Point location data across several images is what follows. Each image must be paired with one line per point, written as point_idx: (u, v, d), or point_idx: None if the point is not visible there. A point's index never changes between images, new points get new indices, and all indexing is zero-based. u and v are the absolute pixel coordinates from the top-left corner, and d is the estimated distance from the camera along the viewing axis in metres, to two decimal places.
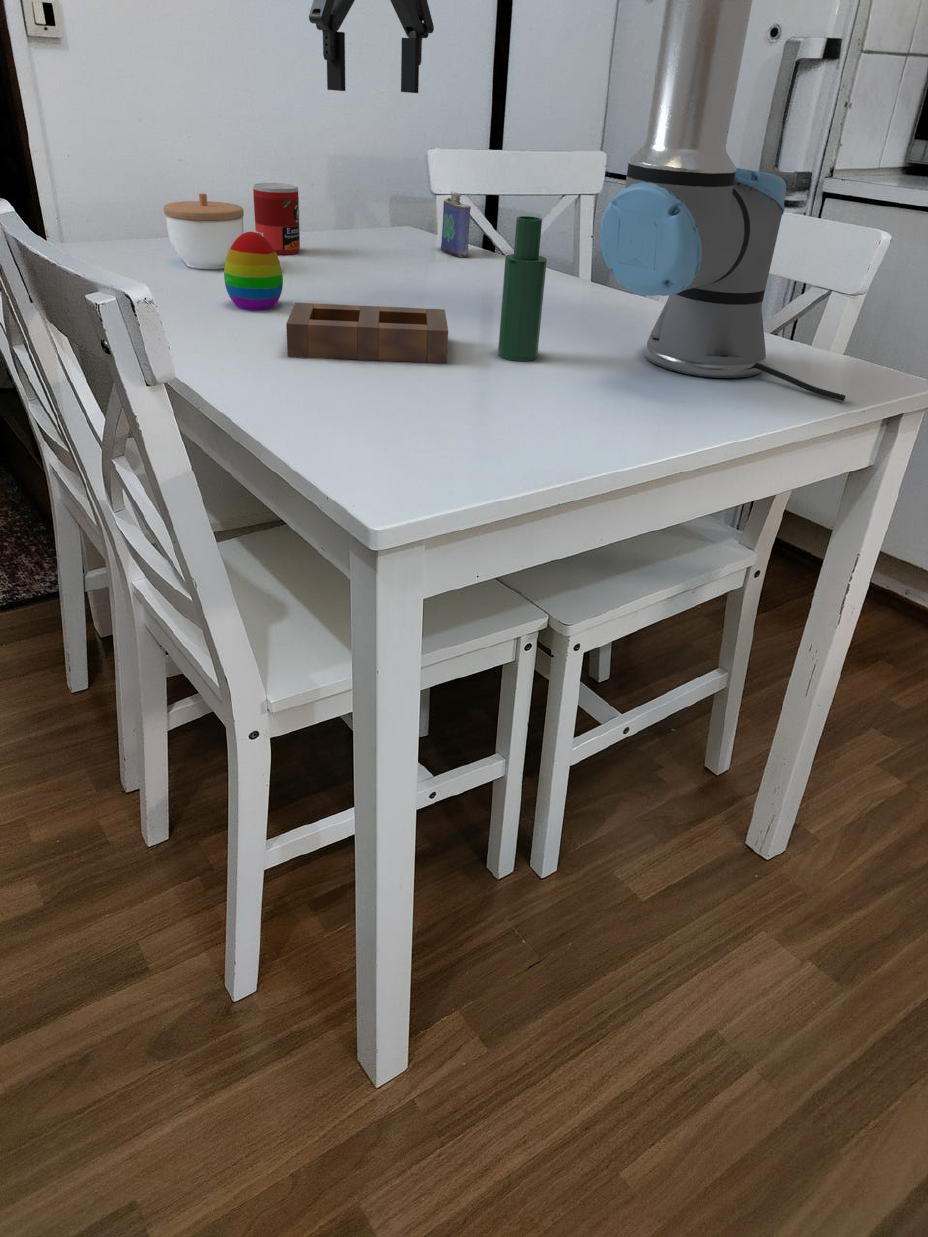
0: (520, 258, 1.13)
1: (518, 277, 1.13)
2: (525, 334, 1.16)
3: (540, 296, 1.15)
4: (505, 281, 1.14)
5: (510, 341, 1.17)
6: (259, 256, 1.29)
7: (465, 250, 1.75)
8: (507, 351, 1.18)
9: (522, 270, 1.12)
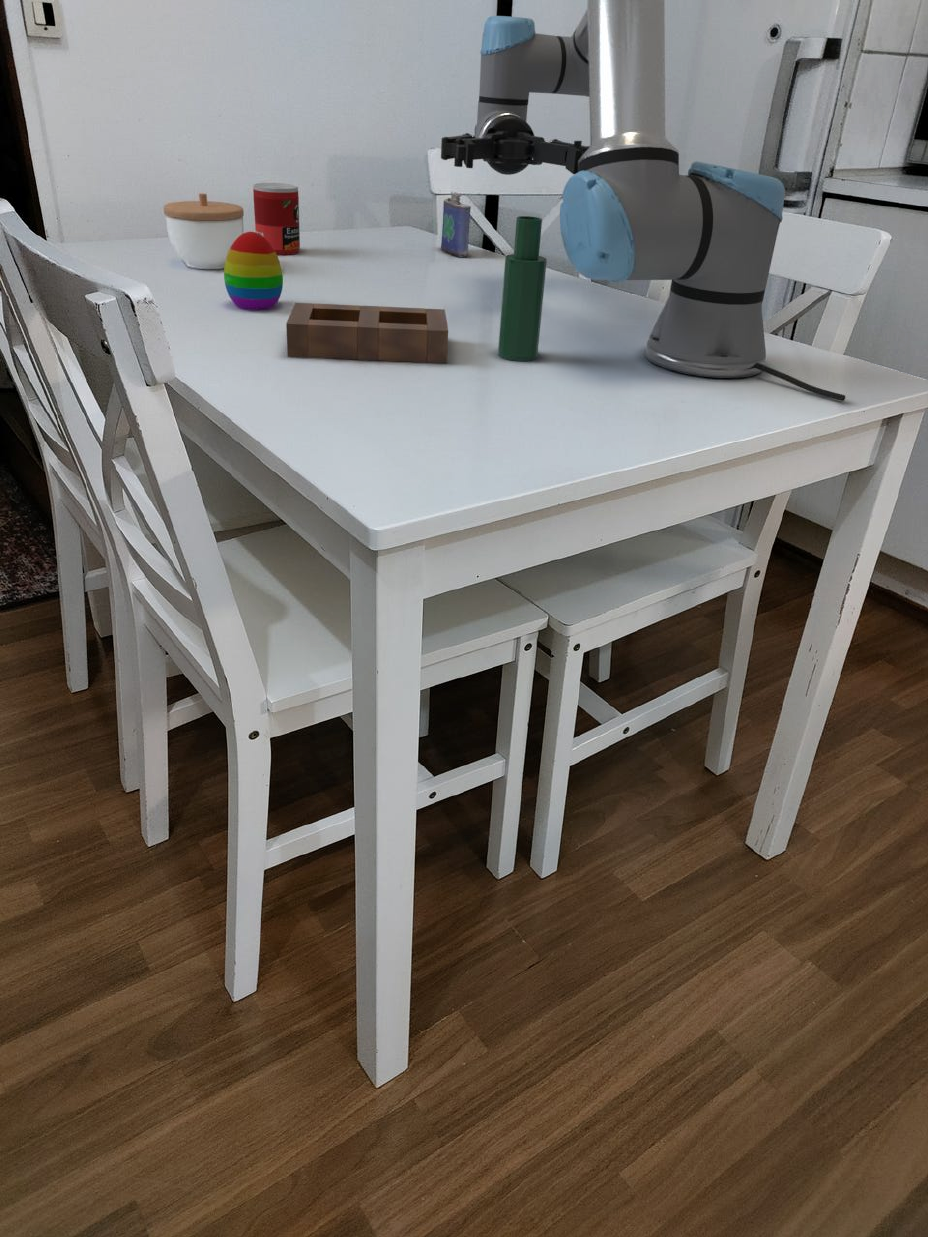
0: (520, 258, 1.13)
1: (518, 277, 1.13)
2: (525, 334, 1.16)
3: (540, 296, 1.15)
4: (505, 281, 1.14)
5: (510, 341, 1.17)
6: (259, 256, 1.29)
7: (465, 250, 1.75)
8: (507, 351, 1.18)
9: (522, 270, 1.12)
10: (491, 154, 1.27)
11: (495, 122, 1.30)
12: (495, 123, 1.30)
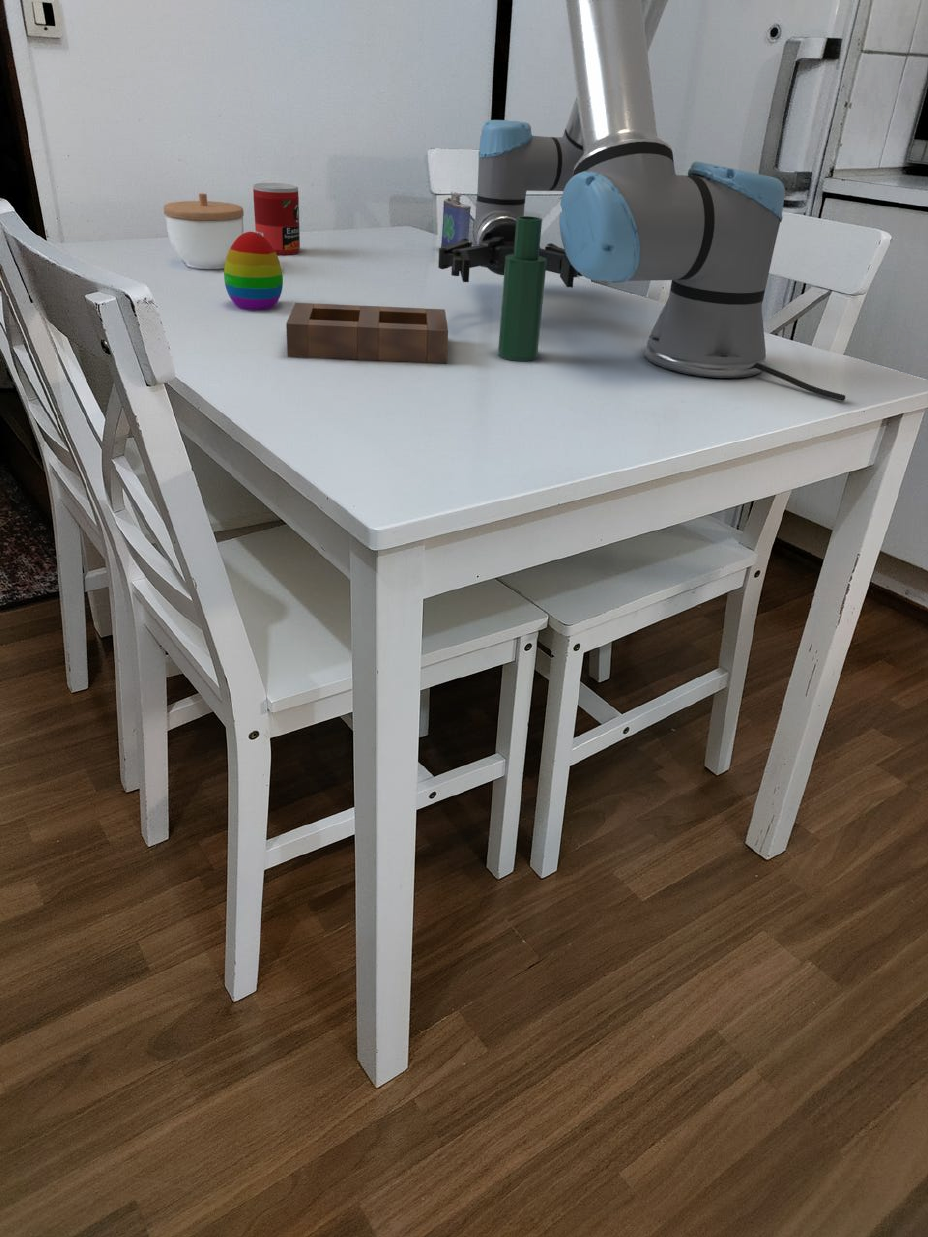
0: (520, 258, 1.13)
1: (518, 277, 1.13)
2: (525, 334, 1.16)
3: (540, 296, 1.15)
4: (505, 281, 1.14)
5: (510, 341, 1.17)
6: (259, 256, 1.29)
7: None
8: (507, 351, 1.18)
9: (522, 270, 1.12)
10: (488, 260, 1.30)
11: (492, 227, 1.33)
12: (492, 228, 1.33)
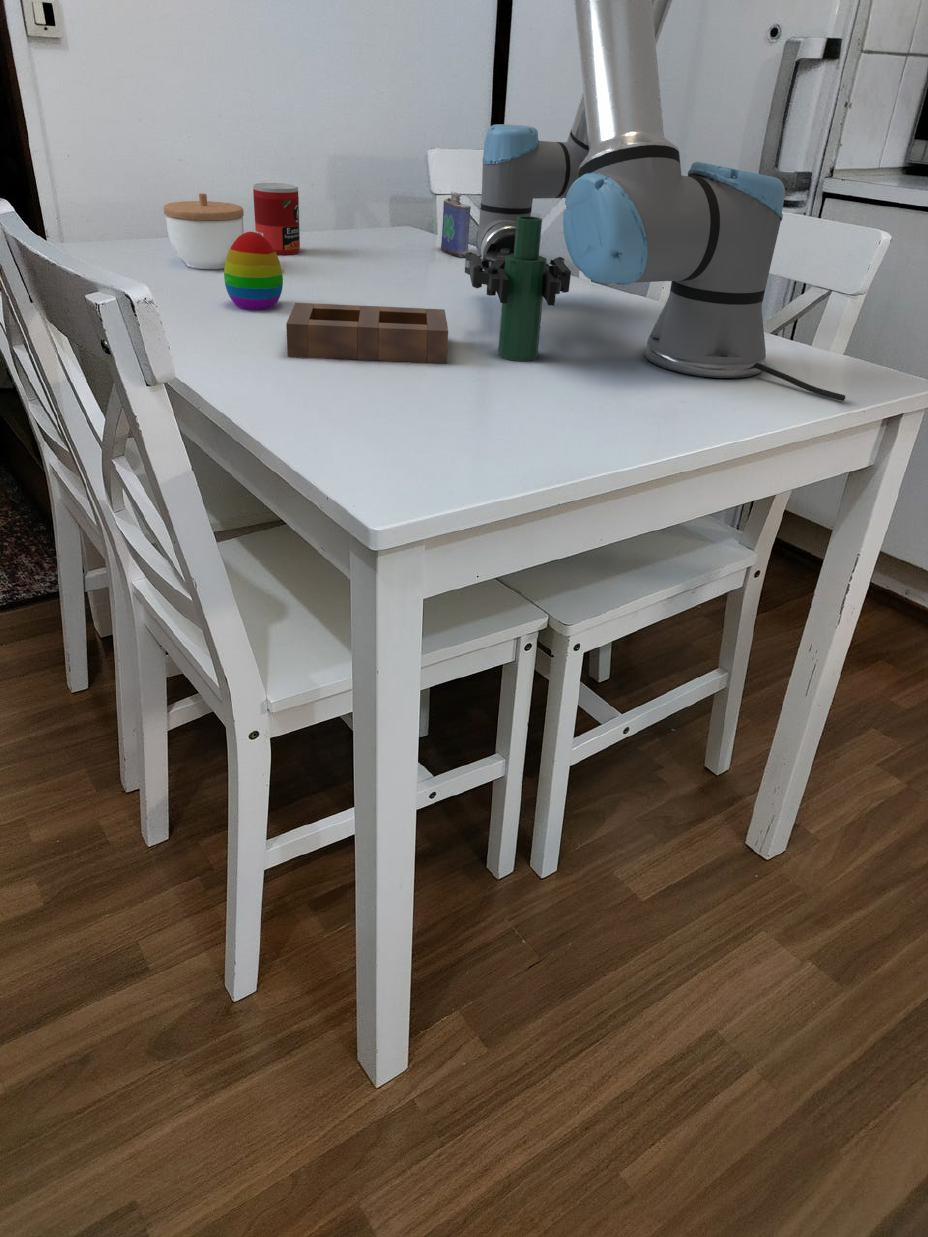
0: (520, 258, 1.13)
1: (518, 277, 1.13)
2: (525, 334, 1.16)
3: (540, 296, 1.15)
4: None
5: (510, 341, 1.17)
6: (259, 256, 1.29)
7: (465, 250, 1.75)
8: (507, 351, 1.18)
9: (522, 270, 1.12)
10: None
11: (497, 238, 1.26)
12: (497, 239, 1.26)
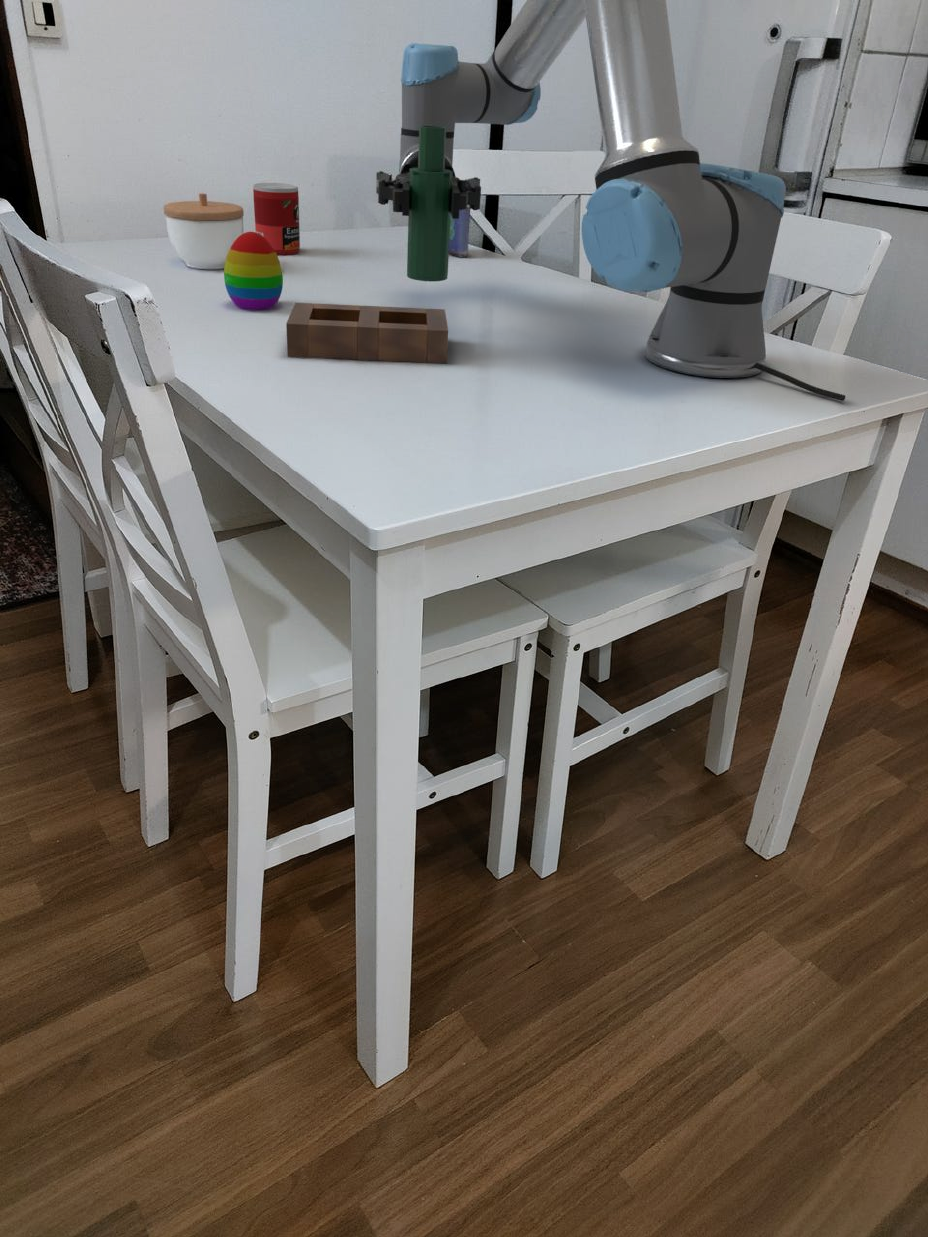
0: (424, 169, 1.08)
1: (422, 190, 1.08)
2: (432, 252, 1.11)
3: (446, 211, 1.10)
4: (410, 195, 1.09)
5: (417, 260, 1.12)
6: (259, 256, 1.29)
7: (465, 250, 1.75)
8: (414, 271, 1.13)
9: (425, 182, 1.07)
10: None
11: (411, 158, 1.21)
12: (411, 159, 1.21)
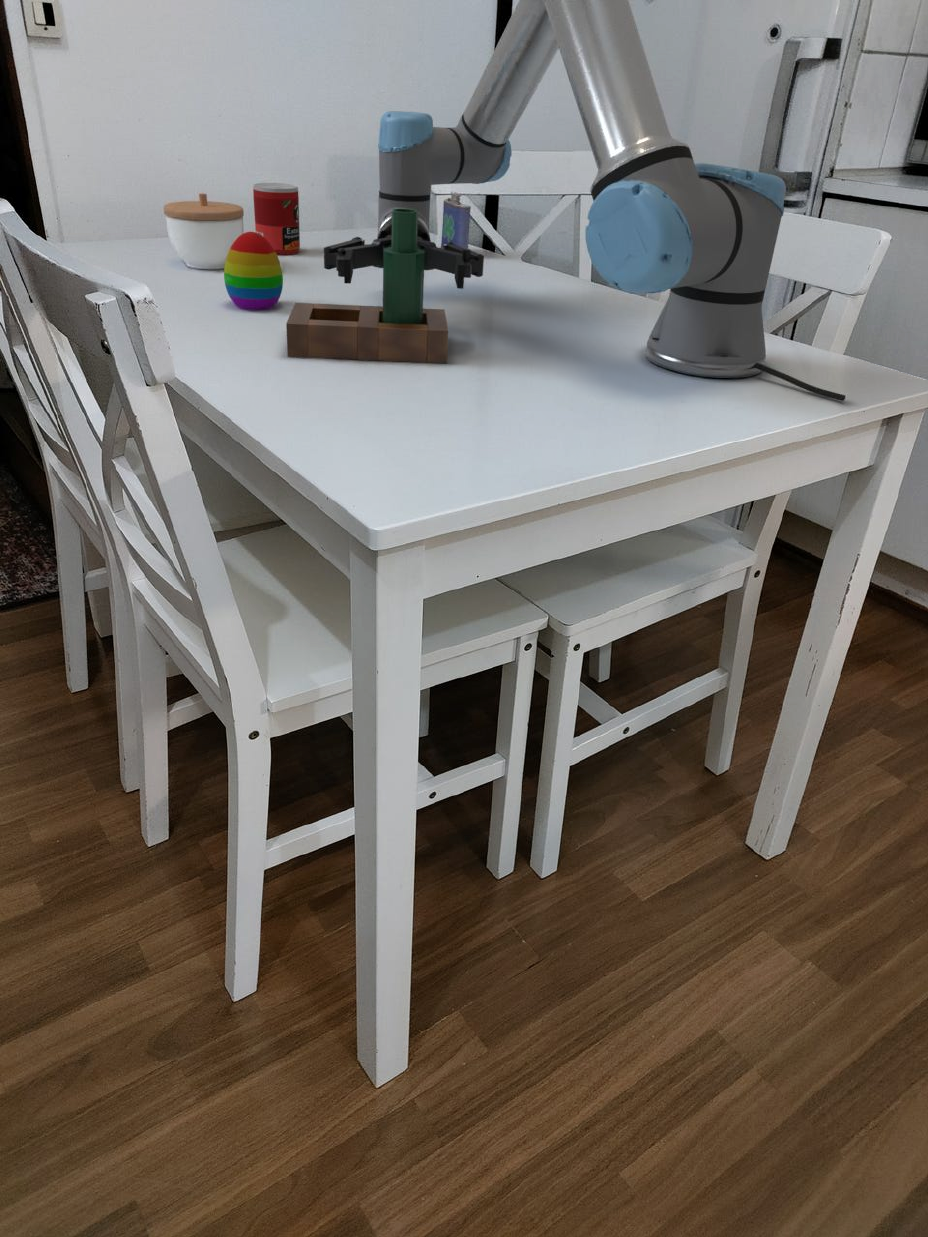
0: (397, 251, 1.12)
1: (395, 270, 1.12)
2: None
3: (419, 289, 1.14)
4: (384, 274, 1.14)
5: None
6: (259, 256, 1.29)
7: None
8: None
9: (398, 263, 1.12)
10: (380, 260, 1.22)
11: (387, 225, 1.25)
12: (387, 226, 1.25)
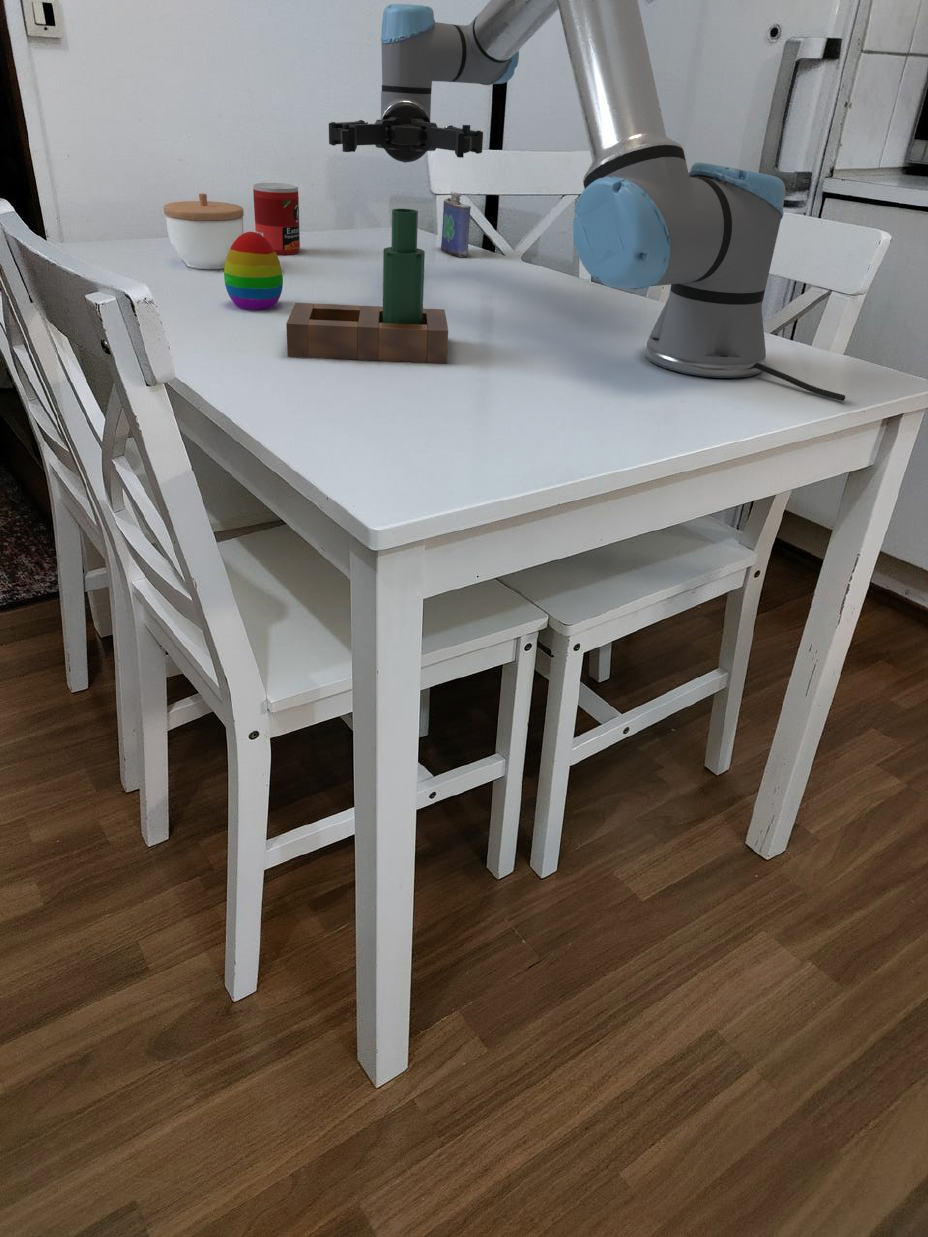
0: (397, 251, 1.12)
1: (395, 270, 1.12)
2: None
3: (419, 289, 1.14)
4: (384, 274, 1.14)
5: None
6: (259, 256, 1.29)
7: (465, 250, 1.75)
8: None
9: (398, 263, 1.12)
10: (383, 140, 1.26)
11: (390, 109, 1.29)
12: (390, 110, 1.29)
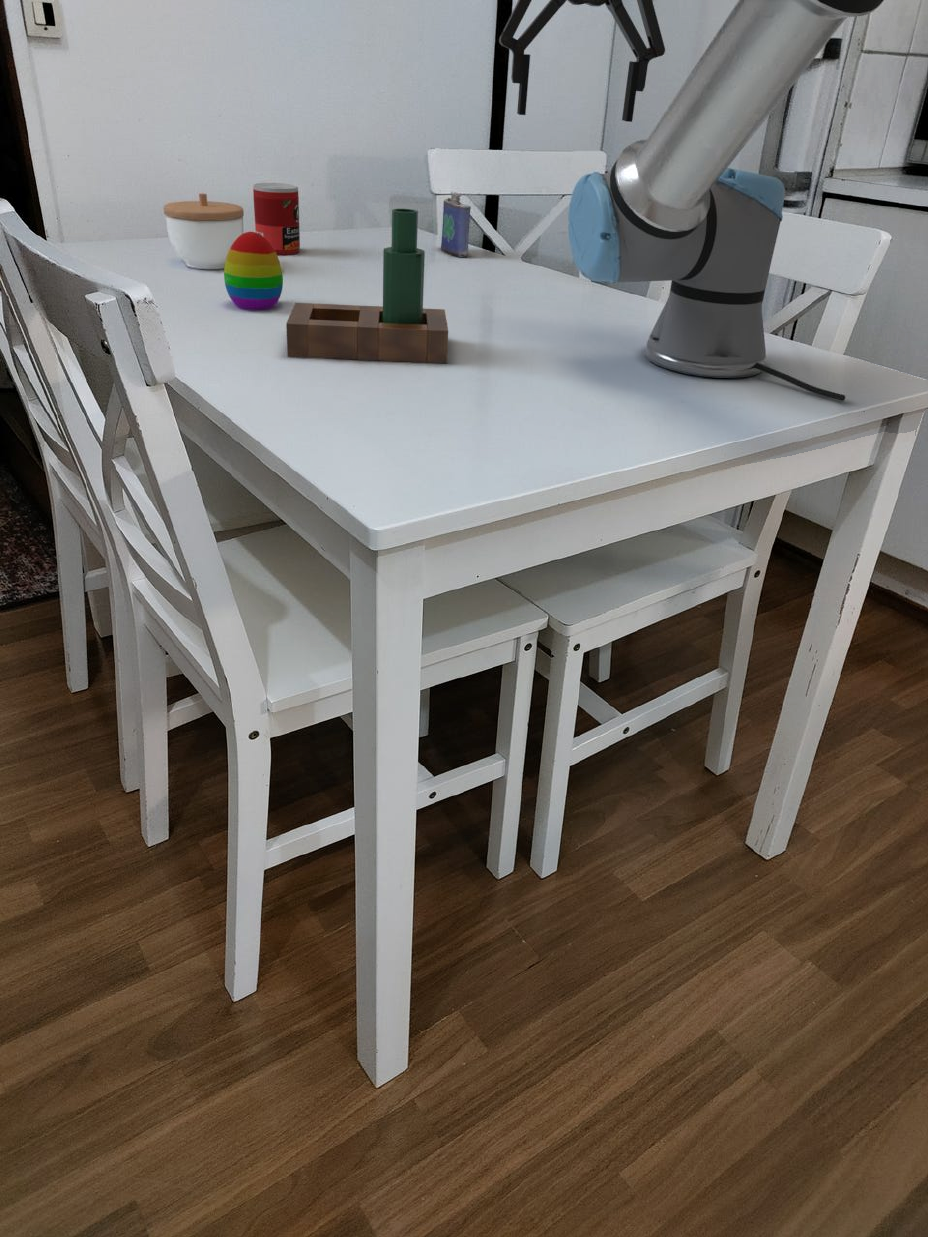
0: (397, 251, 1.12)
1: (395, 270, 1.12)
2: None
3: (419, 289, 1.14)
4: (384, 274, 1.14)
5: None
6: (259, 256, 1.29)
7: (465, 250, 1.75)
8: None
9: (398, 263, 1.12)
10: None
11: None
12: None
